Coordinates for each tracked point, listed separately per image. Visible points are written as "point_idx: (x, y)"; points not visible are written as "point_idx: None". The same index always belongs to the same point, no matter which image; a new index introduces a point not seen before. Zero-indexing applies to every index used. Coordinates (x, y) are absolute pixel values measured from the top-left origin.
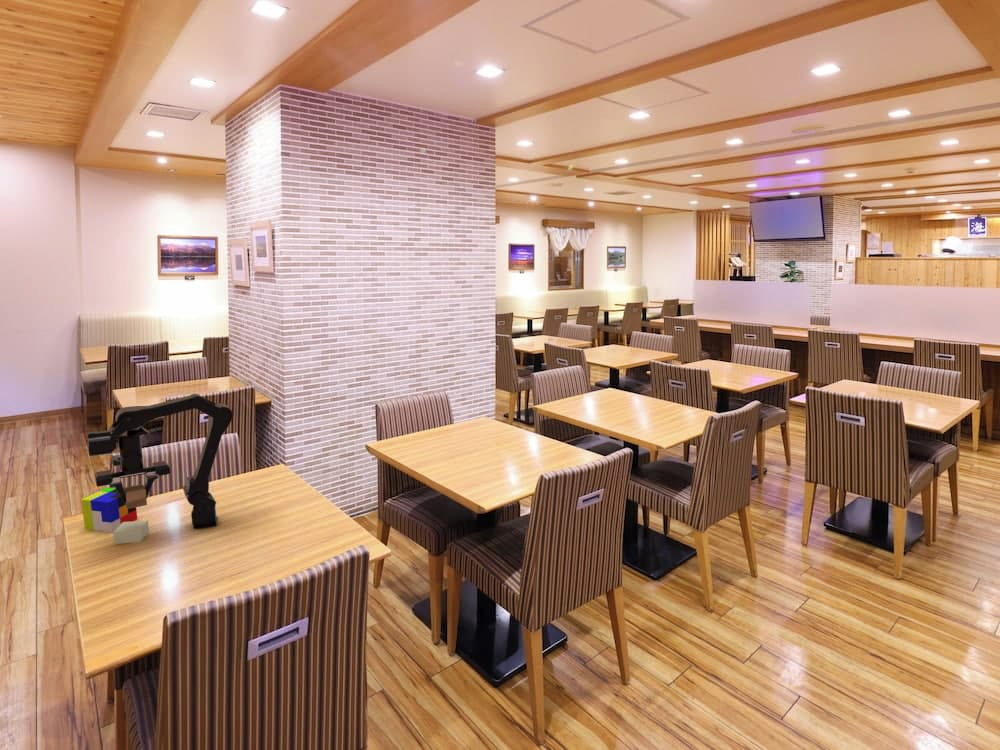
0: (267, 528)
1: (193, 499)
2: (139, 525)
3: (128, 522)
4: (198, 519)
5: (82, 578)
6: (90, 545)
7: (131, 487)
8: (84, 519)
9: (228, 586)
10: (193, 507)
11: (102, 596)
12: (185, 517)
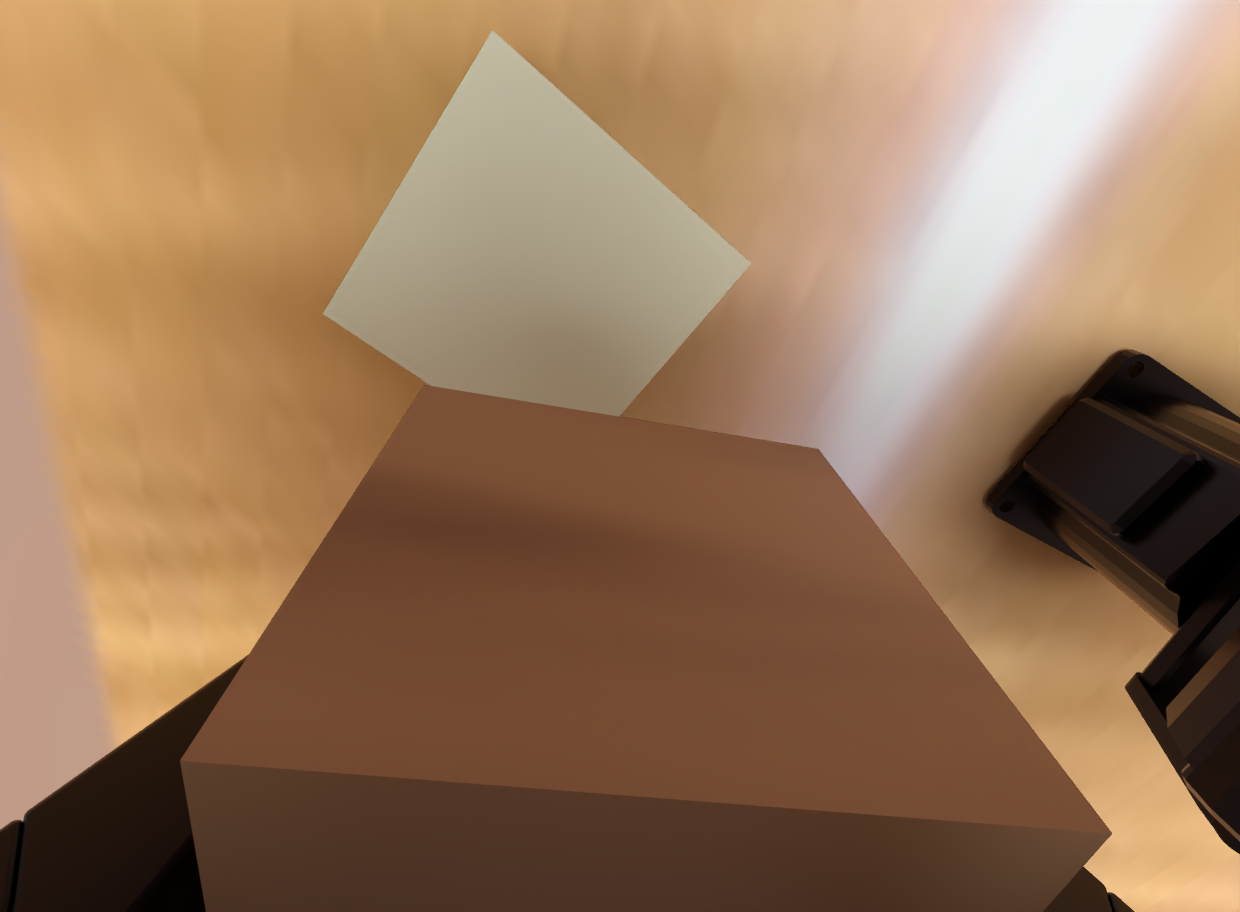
0: None
1: (1227, 841)
2: (617, 347)
3: (547, 120)
4: (1083, 540)
5: (119, 685)
6: (138, 107)
7: (549, 910)
8: None
9: None
10: (1200, 552)
11: None
12: (1159, 149)
